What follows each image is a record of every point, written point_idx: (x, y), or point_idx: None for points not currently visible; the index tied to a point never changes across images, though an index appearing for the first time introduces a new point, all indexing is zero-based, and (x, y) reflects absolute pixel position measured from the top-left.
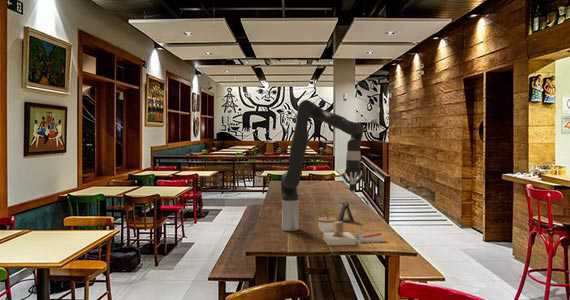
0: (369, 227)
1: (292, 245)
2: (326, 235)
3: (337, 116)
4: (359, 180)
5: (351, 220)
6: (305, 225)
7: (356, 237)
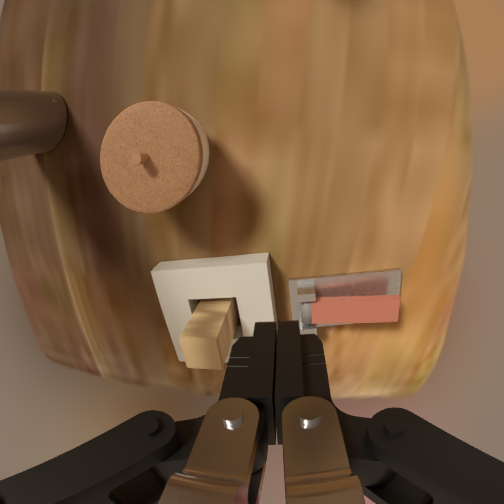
0: (395, 48)
1: (93, 333)
2: (168, 314)
3: None
4: (412, 497)
5: None
6: (93, 38)
7: (297, 286)
